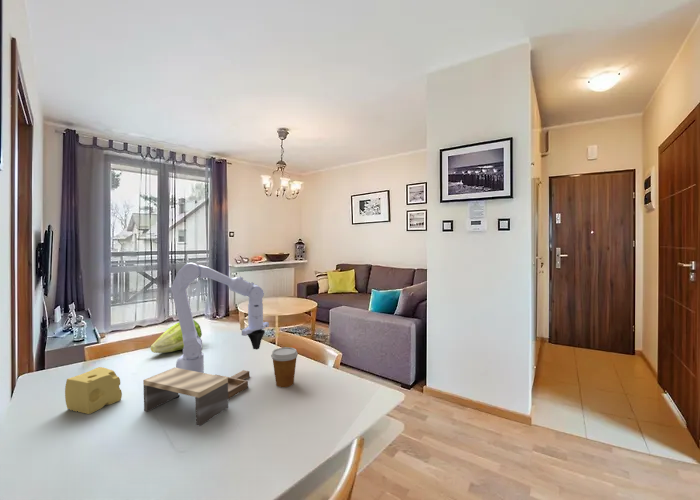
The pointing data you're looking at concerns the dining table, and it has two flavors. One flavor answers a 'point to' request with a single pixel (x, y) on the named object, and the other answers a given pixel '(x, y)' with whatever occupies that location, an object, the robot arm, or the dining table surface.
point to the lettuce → (172, 339)
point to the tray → (237, 383)
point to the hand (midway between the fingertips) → (256, 348)
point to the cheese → (92, 390)
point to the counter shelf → (188, 391)
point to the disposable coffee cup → (284, 365)
